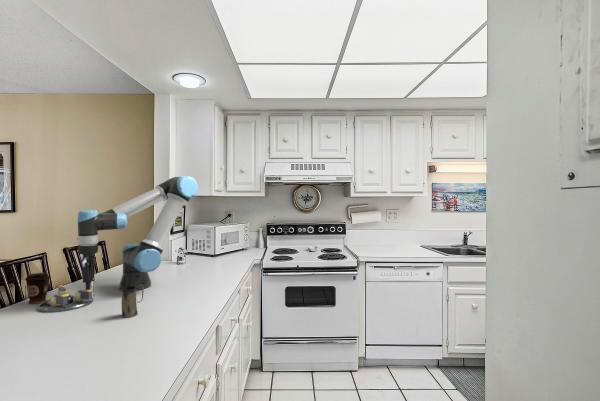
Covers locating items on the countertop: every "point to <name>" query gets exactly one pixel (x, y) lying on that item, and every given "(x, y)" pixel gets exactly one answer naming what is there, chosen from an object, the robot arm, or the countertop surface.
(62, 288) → the knob
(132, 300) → the mug
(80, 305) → the candle tray
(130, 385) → the countertop surface
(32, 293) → the coffee cup
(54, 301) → the knob
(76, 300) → the knob
